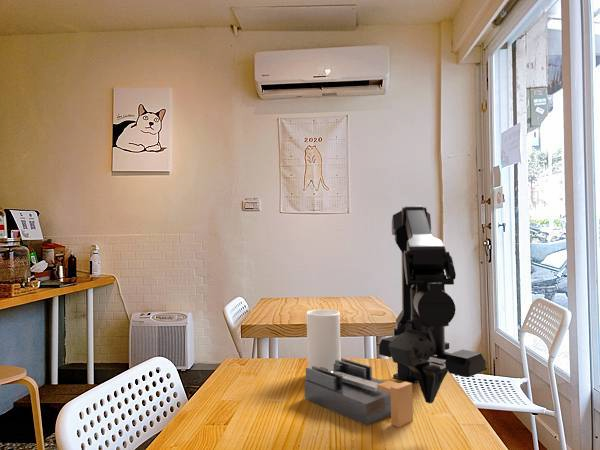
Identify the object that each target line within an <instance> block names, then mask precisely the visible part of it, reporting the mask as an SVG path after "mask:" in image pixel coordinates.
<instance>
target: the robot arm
mask: <svg viewBox="0 0 600 450" xmlns="http://www.w3.org/2000/svg"><path fill="white" fill-rule="evenodd" d="M431 221H432V220H431V213H430V212H428V211H427V207H426V206H423V205H405V206H403V207H401V210H400V211H397V212H396V213H394V214H392V218H391V235H392V236H394V241H395V244H396V245H397V248H399V250H400V252H401V307H402V308H401V311H400V313H399V314H398V316H397V318H396V319H395V328H393V329H392V336H389V337H385V338H382V339H381V340H380V342H379V344H378V355H380V356H384V357H388V358H391V359H392V362H393V363H394V364H397V368H396V369H397V370H396V371H397V372H396V373H394V374H393V375H392V377H393V378H396V379H399V380H402V381H404V382H405V381H406V382H409V383H412V384H415V383H418V385H419V387H420V389H421V393H422V395H423V397H424V401H425V403H426V404H430V405H431V404H432V403H434V401H435V399H436V397H437V395H438V392H439V390H440V388H441V385H442V383H443V381H444V380H445V377H446V376H447V374H448V373H450V374H452V375H456V376H460V377H462V378H471V377H473V376H475V375H478V374H481V373H482V372H485V371H486V370H487V368H486V367H487V366H486V364H487V361H486V359H485V357H484V355H483V353H481V352H477V351H471V350H467V349H461V350H458V351H454V352H447V351H446V350H449V349H450V343H449V342H446V332H445V331H446V330H445V329H446V327H448V326H450V322H452V321H453V319H454V317H455V315H456V309H457V308H456V304H455V301H454V299H453V298H452V297H451V296H450V295H449V294H448V293H447V292H446V289H445V288H446V287H445V285H453V286H454V284H455V282H454V280H456V275H457V274H456V270H455V265H454V261H453V257H452V255H450V251H449V250H447V249H446V247H445V245H444V242H443V241H442V240H441V239H440V238H438V237H435V236H433V234H432V222H431Z"/></svg>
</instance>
